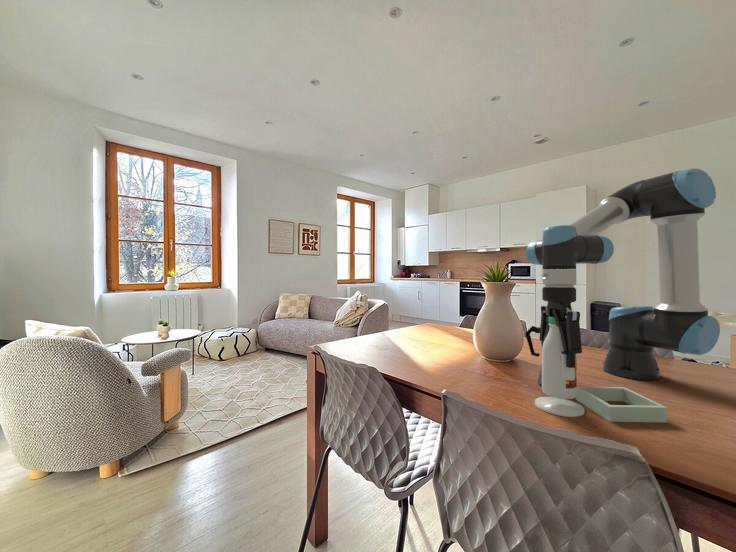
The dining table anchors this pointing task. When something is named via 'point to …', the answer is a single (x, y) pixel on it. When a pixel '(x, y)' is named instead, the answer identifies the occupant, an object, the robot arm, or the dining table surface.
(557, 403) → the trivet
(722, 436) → the dining table surface
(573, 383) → the milk bottle
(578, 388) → the green square tray
